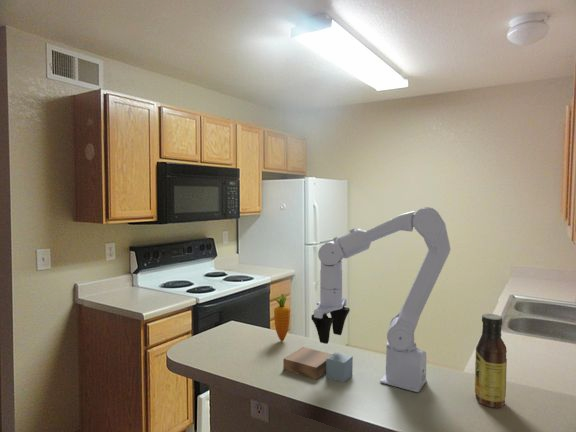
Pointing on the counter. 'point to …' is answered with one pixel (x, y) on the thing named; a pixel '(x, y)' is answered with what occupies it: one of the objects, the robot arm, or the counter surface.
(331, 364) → the slate-blue cube
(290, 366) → the walnut base
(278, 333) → the carrot
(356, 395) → the counter surface
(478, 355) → the sauce bottle
